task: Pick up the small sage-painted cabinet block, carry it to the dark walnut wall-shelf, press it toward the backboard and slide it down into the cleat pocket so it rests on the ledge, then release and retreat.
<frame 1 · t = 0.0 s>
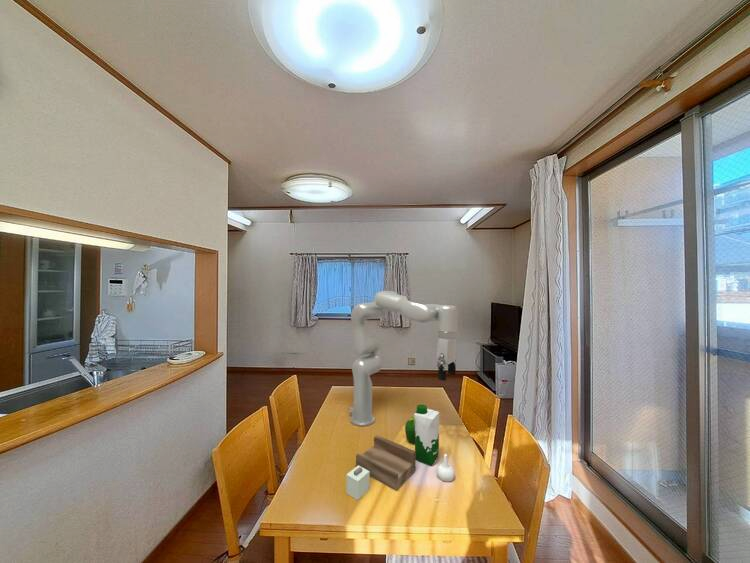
hand: (447, 376, 112), 31 cm above the table, fingers open, 9 cm apart
milk carton: (426, 459, 108), on the table
cabinet: (357, 491, 90), on the table
shelf: (392, 463, 105), on the table
bell pepper: (414, 441, 120), on the table
garlic bulb: (445, 477, 98), on the table
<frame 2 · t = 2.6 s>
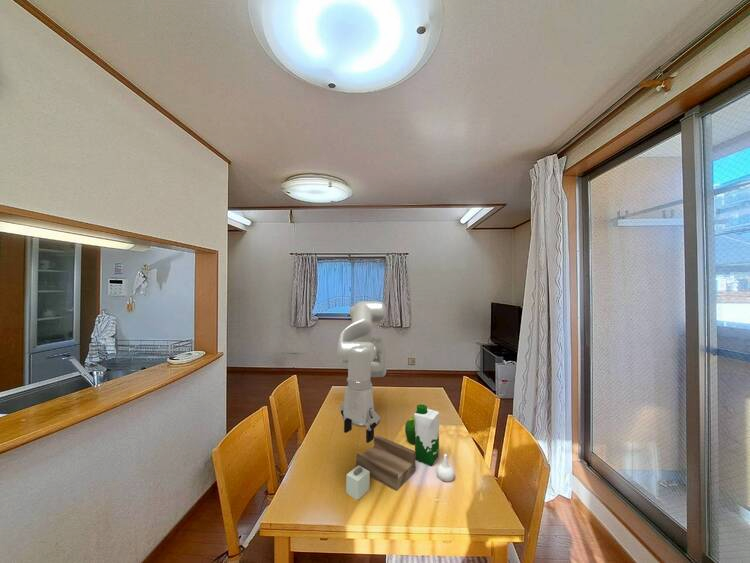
hand: (358, 436, 90), 18 cm above the table, fingers open, 9 cm apart
nothing on the table moved.
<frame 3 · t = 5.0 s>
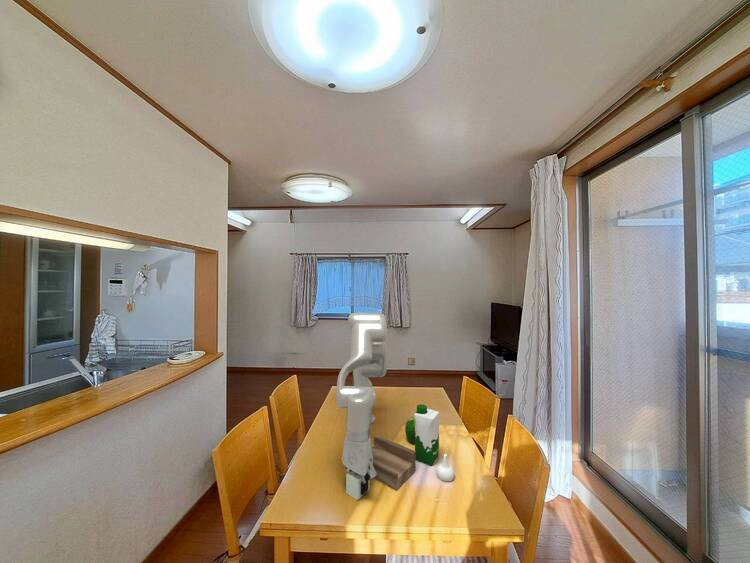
hand: (357, 487, 90), 1 cm above the table, fingers closed on cabinet, 5 cm apart
cabinet: (357, 491, 90), on the table, touching gripper
everything else where it was.
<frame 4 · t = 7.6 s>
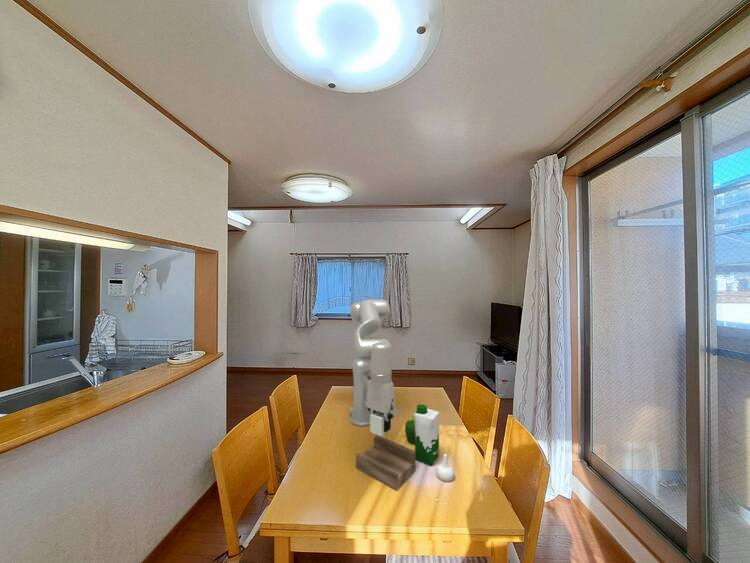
hand: (380, 427, 98), 17 cm above the table, fingers closed on cabinet, 5 cm apart
cabinet: (380, 430, 98), point 16 cm above the table, touching gripper
everything else where it was.
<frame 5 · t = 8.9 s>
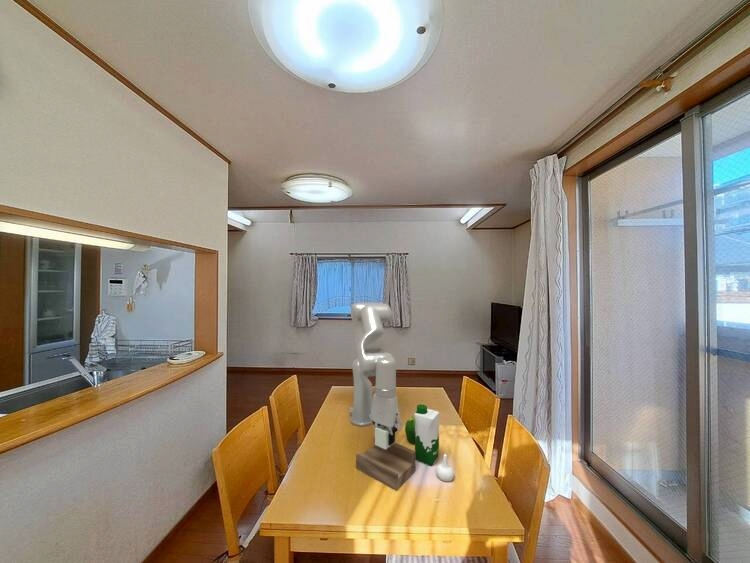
hand: (385, 440, 101), 11 cm above the table, fingers closed on cabinet, 5 cm apart
cabinet: (385, 443, 101), point 10 cm above the table, touching gripper
everything else where it was.
when the fingers open (6 cm above the table, at t = 10.1 s): cabinet drops 1 cm, resting on shelf.
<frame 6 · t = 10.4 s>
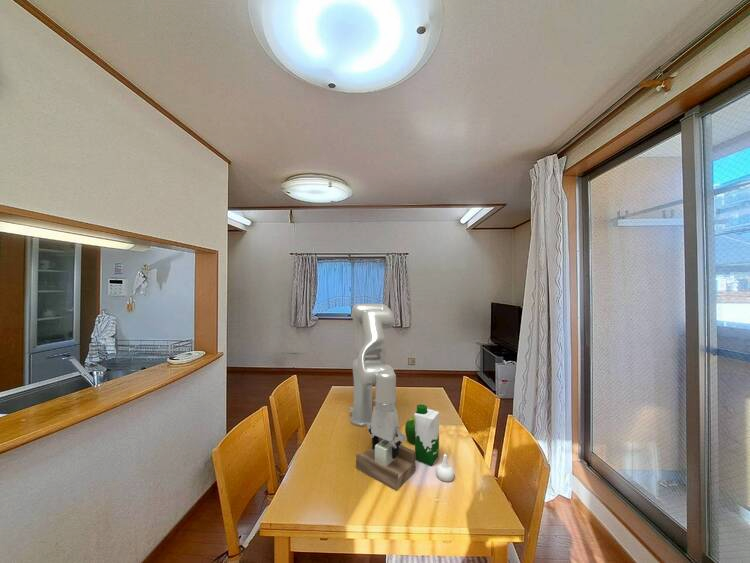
hand: (385, 452, 101), 7 cm above the table, fingers open, 8 cm apart
cabinet: (384, 460, 101), point 3 cm above the table, touching shelf
everything else where it was.
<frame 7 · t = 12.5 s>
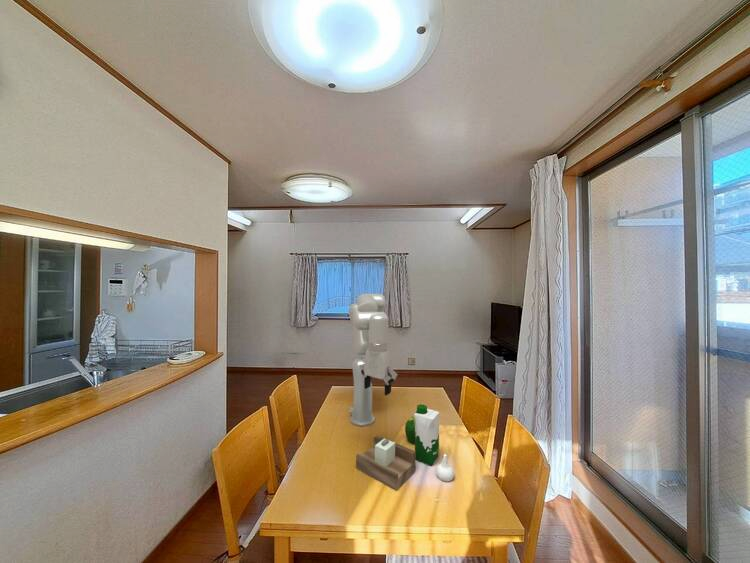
hand: (377, 390, 105), 28 cm above the table, fingers open, 9 cm apart
nothing on the table moved.
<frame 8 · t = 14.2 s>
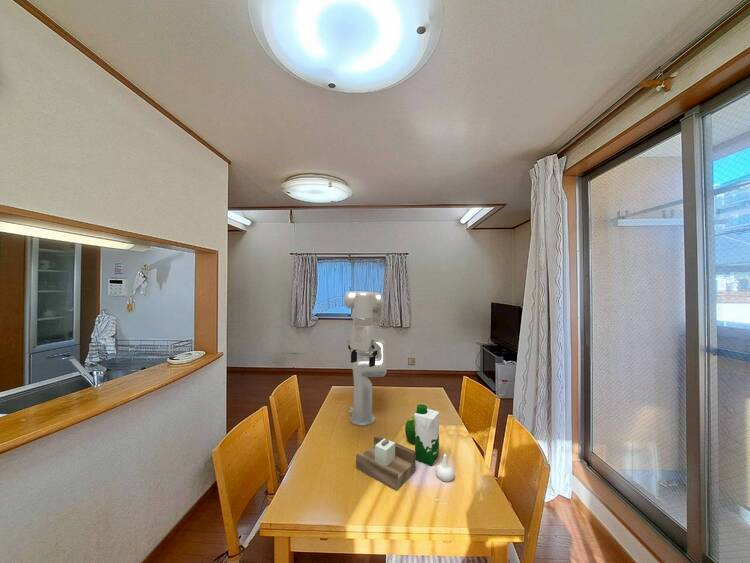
hand: (362, 364, 111), 36 cm above the table, fingers open, 9 cm apart
nothing on the table moved.
at the end: cabinet inside the target area on the shelf (0.0 cm from its centre), point 3.5 cm above the shelf's base; cabinet touching shelf; the gripper is holding nothing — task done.
